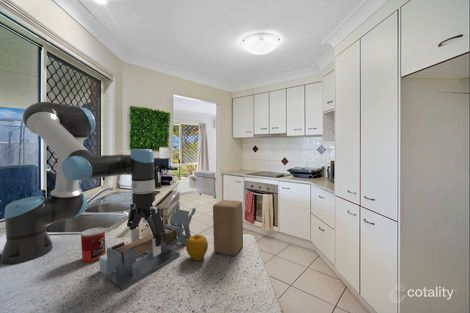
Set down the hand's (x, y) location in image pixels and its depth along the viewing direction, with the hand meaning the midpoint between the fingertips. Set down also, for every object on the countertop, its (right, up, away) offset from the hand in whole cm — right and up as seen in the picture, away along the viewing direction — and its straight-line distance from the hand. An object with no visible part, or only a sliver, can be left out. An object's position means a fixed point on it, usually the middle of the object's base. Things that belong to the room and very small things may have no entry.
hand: (145, 250), depth 73 cm
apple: (+18, -6, +6) cm, 20 cm away
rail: (0, +1, 0) cm, 1 cm away
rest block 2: (-4, -6, +12) cm, 14 cm away
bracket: (+6, -6, +21) cm, 23 cm away
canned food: (-24, -7, +7) cm, 26 cm away
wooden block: (+30, -5, +12) cm, 33 cm away
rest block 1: (-13, -7, -1) cm, 14 cm away
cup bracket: (0, -6, 0) cm, 6 cm away
